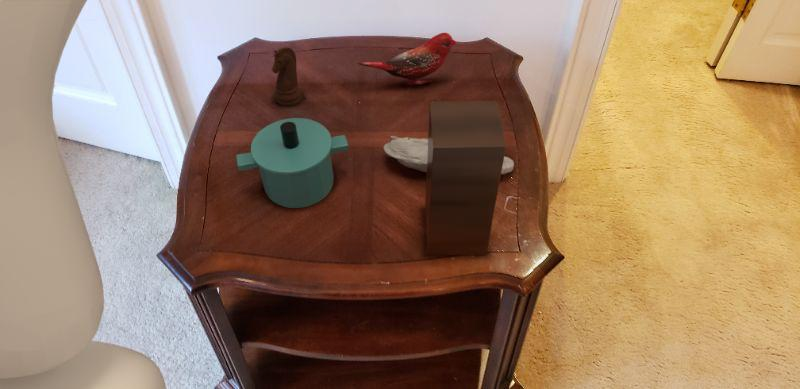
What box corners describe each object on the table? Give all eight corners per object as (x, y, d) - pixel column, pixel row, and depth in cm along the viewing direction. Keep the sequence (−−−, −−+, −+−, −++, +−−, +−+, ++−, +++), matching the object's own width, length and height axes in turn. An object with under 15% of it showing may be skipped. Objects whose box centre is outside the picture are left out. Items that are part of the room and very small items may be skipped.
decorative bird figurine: (456, 84, 101) (460, 36, 94) (360, 97, 99) (357, 48, 91) (452, 75, 103) (455, 27, 95) (358, 87, 100) (354, 39, 93)
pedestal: (486, 254, 75) (506, 146, 60) (427, 255, 75) (433, 147, 60) (479, 210, 81) (496, 100, 66) (425, 210, 81) (429, 101, 66)
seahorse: (504, 132, 90) (382, 124, 87) (526, 161, 80) (390, 153, 77) (498, 160, 93) (379, 154, 90) (519, 192, 83) (386, 186, 80)
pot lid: (339, 168, 77) (336, 145, 74) (256, 185, 75) (249, 162, 72) (324, 117, 84) (321, 94, 81) (248, 131, 82) (242, 108, 79)
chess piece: (270, 98, 98) (259, 50, 91) (292, 85, 101) (283, 37, 94) (287, 109, 96) (278, 60, 89) (309, 96, 99) (301, 47, 91)
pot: (357, 196, 83) (353, 160, 77) (250, 218, 80) (238, 182, 74) (343, 150, 89) (339, 114, 84) (244, 169, 87) (233, 133, 81)
